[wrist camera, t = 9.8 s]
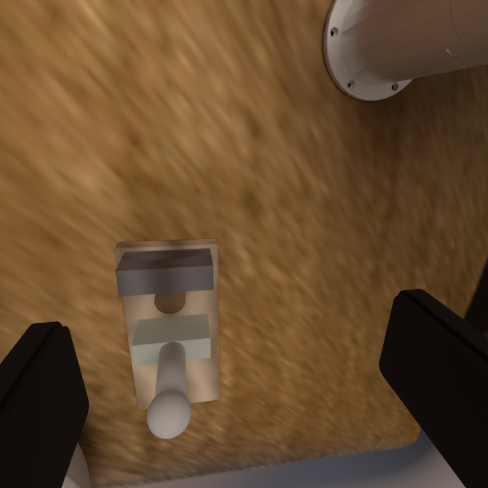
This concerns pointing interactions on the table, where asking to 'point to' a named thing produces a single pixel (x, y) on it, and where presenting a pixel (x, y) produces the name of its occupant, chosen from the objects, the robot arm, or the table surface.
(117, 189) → the table surface
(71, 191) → the table surface
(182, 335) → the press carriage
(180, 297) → the walnut
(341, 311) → the table surface
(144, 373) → the base
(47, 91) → the table surface
